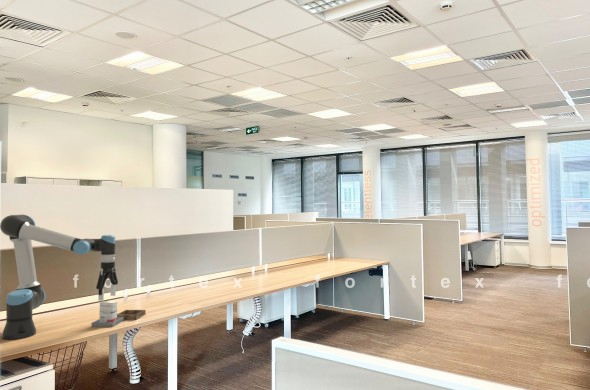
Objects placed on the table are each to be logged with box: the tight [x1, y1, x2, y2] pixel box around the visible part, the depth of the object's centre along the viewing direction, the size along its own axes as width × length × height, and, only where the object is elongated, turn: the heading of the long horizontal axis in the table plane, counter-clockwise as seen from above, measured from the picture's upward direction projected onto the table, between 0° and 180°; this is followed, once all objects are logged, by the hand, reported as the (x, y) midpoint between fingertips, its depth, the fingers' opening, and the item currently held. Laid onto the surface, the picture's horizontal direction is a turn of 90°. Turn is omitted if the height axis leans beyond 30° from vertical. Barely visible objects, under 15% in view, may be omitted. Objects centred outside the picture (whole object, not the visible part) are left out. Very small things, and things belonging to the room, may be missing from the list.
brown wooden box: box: [117, 309, 146, 321], centre depth 260 cm, size 13×13×3 cm
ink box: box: [99, 300, 118, 323], centre depth 246 cm, size 9×5×12 cm, turn 79°
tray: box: [91, 317, 125, 328], centre depth 246 cm, size 13×13×2 cm
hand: (107, 298), depth 246 cm, fingers open, 13 cm apart
